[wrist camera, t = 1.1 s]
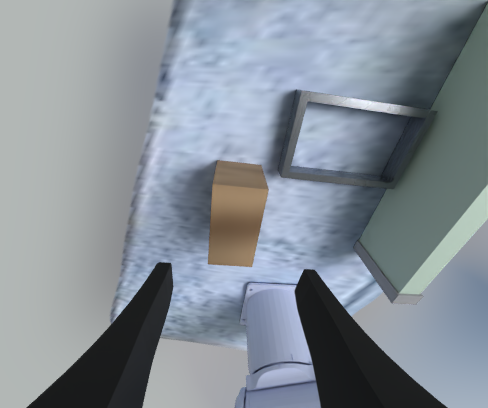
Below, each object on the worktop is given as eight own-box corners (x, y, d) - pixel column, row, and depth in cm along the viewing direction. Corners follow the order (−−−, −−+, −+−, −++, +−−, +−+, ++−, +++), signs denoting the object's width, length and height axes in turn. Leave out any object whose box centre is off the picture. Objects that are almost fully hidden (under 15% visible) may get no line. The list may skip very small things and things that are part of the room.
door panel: (371, 249, 25) (415, 304, 19) (353, 247, 25) (391, 303, 19) (517, 6, 14) (740, -49, 8) (486, -1, 14) (690, -63, 8)
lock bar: (248, 232, 23) (251, 266, 19) (212, 229, 23) (207, 264, 19) (261, 164, 19) (268, 189, 15) (217, 159, 19) (212, 184, 15)
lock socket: (383, 182, 20) (393, 189, 19) (277, 170, 19) (280, 177, 18) (422, 108, 17) (437, 111, 16) (296, 89, 16) (302, 90, 15)
